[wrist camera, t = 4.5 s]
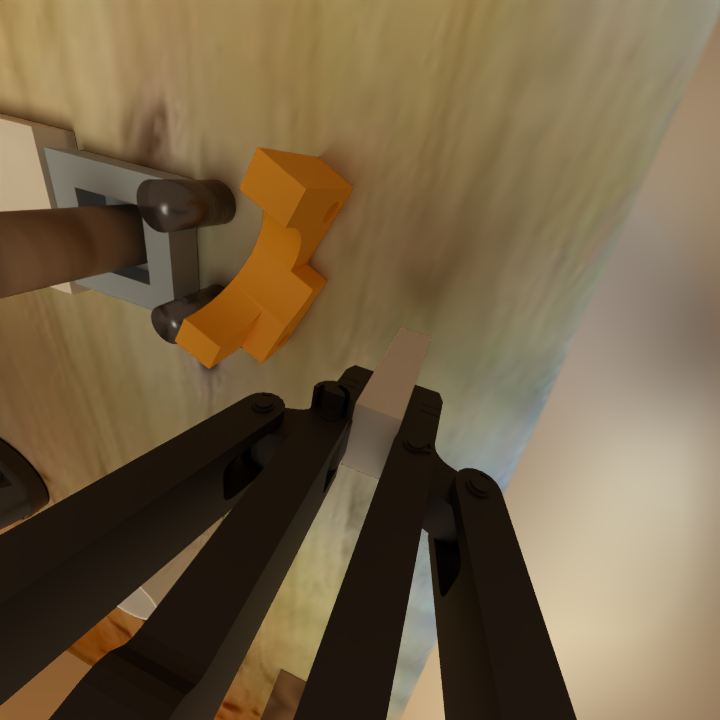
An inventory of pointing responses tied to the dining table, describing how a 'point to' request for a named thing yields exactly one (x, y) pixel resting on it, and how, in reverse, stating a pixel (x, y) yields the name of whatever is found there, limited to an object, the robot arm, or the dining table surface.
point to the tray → (30, 169)
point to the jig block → (164, 250)
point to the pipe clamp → (271, 260)
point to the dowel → (67, 245)
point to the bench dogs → (181, 212)
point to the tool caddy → (284, 698)
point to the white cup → (164, 579)
